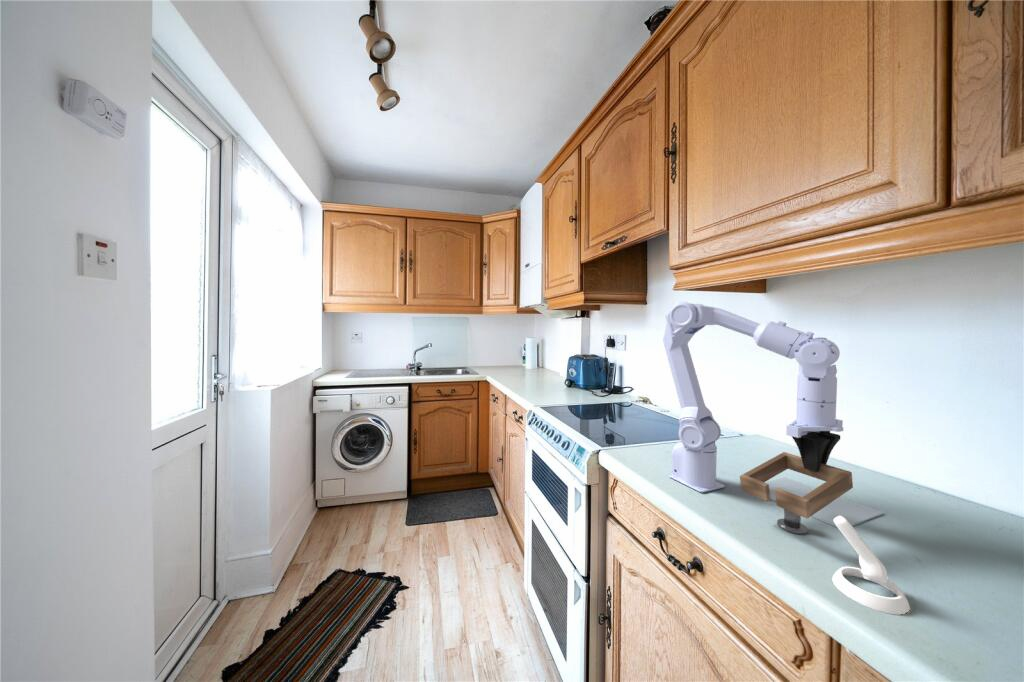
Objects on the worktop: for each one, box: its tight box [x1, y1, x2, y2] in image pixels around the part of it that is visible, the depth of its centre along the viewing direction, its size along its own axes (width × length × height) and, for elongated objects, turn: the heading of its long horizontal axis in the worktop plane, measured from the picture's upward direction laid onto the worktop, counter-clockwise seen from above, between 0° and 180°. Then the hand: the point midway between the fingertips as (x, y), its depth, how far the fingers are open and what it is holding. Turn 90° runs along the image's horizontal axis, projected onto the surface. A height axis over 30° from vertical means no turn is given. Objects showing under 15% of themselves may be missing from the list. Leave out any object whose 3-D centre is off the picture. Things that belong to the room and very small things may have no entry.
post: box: [776, 509, 808, 535], centre depth 65 cm, size 4×4×4 cm
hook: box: [831, 516, 911, 616], centre depth 50 cm, size 8×12×7 cm
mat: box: [764, 477, 885, 529], centre depth 75 cm, size 18×15×1 cm
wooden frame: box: [739, 451, 854, 520], centre depth 65 cm, size 11×14×3 cm
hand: (813, 469), depth 67 cm, fingers closed on wooden frame
